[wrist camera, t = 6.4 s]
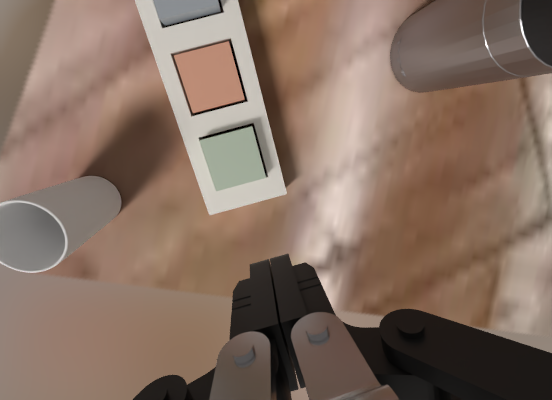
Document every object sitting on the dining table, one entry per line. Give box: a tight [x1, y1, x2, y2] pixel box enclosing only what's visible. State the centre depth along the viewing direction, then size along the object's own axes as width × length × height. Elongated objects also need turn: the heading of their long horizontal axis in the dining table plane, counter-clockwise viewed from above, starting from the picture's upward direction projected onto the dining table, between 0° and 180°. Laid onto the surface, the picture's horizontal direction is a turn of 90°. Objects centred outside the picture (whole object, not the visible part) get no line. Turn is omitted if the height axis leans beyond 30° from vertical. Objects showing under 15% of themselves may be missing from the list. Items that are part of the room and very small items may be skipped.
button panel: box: [135, 0, 287, 215], centre depth 32 cm, size 10×30×2 cm, turn 14°
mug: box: [0, 176, 121, 273], centre depth 30 cm, size 10×7×12 cm, turn 111°
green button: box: [200, 126, 266, 191], centre depth 33 cm, size 6×6×2 cm
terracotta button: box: [174, 41, 245, 113], centre depth 32 cm, size 6×6×2 cm
